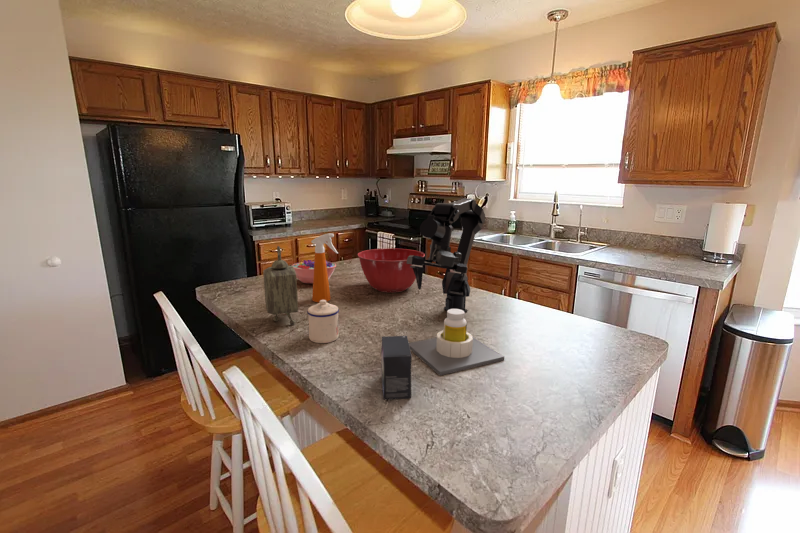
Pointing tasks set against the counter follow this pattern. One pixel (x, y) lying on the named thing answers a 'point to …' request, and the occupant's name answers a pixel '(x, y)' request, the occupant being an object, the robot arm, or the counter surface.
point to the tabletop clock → (280, 288)
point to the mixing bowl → (388, 268)
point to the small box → (396, 367)
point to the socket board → (454, 362)
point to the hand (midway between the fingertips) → (432, 291)
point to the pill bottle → (455, 326)
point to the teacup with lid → (323, 322)
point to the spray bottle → (321, 268)
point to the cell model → (310, 270)
